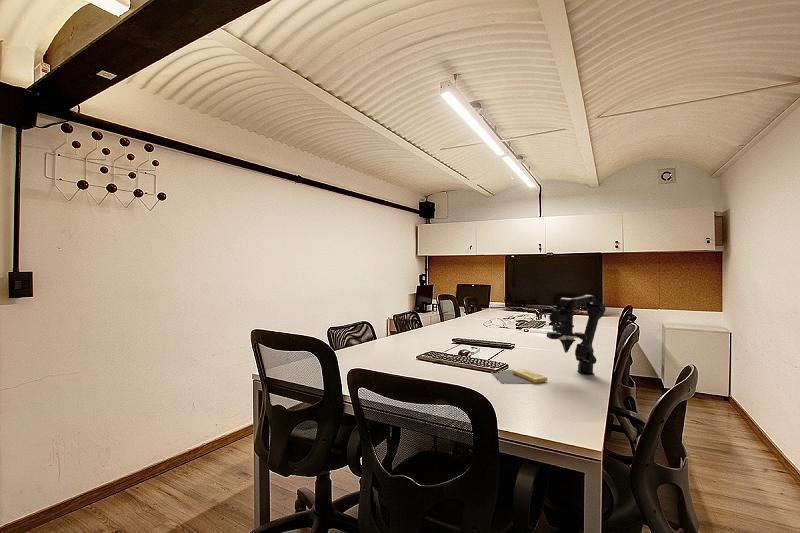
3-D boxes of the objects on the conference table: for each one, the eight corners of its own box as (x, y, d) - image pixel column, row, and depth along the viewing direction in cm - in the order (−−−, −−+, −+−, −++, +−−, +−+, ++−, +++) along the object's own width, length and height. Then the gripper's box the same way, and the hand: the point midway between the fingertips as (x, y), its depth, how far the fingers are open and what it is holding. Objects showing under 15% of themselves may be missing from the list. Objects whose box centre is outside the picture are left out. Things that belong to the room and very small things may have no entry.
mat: (525, 371, 211) (525, 370, 211) (541, 383, 189) (541, 382, 189) (489, 370, 211) (489, 370, 211) (501, 383, 189) (501, 382, 189)
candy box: (524, 372, 207) (512, 373, 204) (524, 368, 207) (512, 369, 204) (547, 381, 193) (534, 382, 189) (547, 377, 193) (534, 378, 189)
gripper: (576, 320, 209) (575, 349, 209) (542, 319, 208) (541, 348, 209) (587, 323, 198) (586, 354, 198) (551, 323, 197) (550, 353, 197)
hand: (566, 352), depth 201 cm, fingers closed
